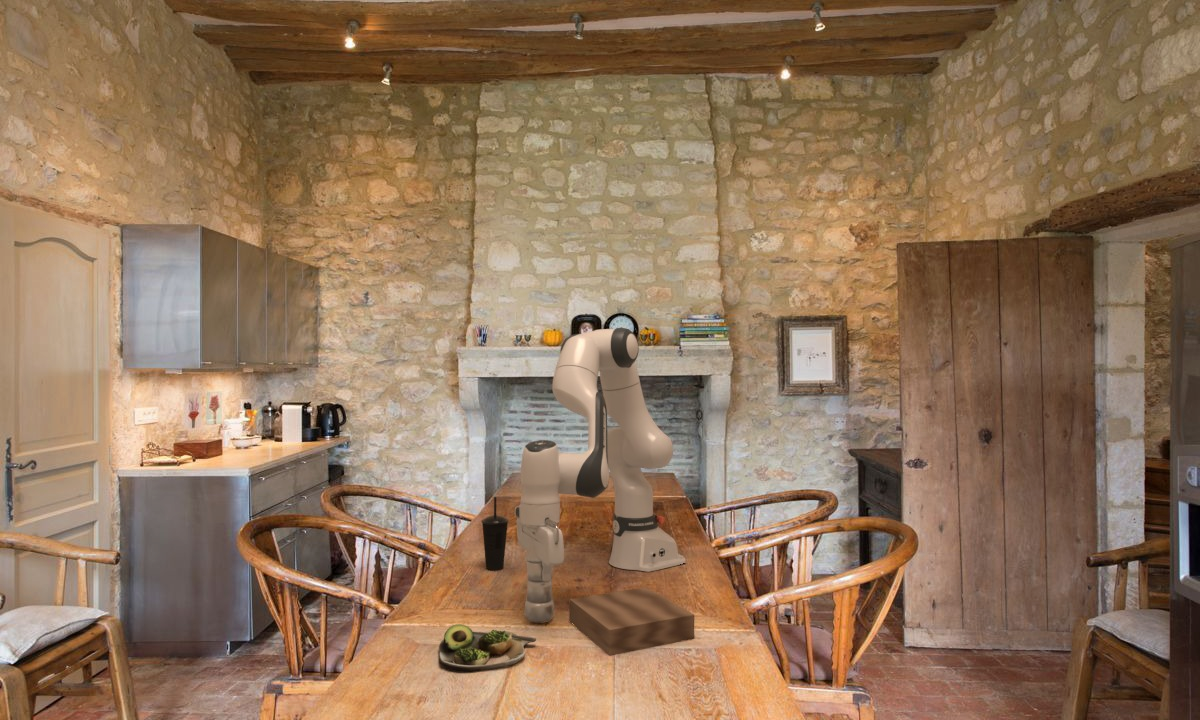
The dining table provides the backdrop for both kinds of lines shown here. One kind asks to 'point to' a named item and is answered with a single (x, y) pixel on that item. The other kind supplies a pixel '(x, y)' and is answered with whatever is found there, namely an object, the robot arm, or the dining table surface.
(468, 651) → the avocado toast plate
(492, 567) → the drinking cup
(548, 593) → the plastic bottle
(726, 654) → the dining table surface
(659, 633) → the walnut base
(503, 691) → the dining table surface
